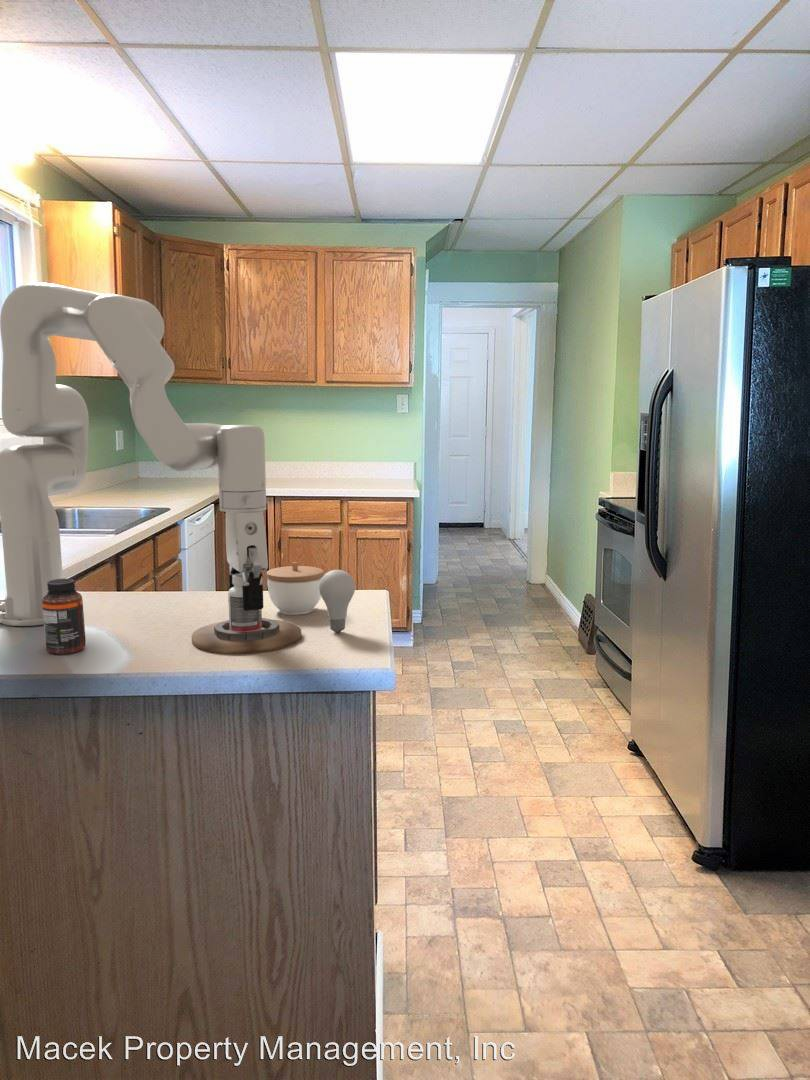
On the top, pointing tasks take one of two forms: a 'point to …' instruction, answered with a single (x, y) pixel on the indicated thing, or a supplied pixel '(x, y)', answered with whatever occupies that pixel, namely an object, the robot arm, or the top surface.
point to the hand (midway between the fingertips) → (246, 603)
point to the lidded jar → (294, 588)
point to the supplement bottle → (63, 618)
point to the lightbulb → (337, 596)
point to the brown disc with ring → (246, 637)
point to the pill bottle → (241, 609)
